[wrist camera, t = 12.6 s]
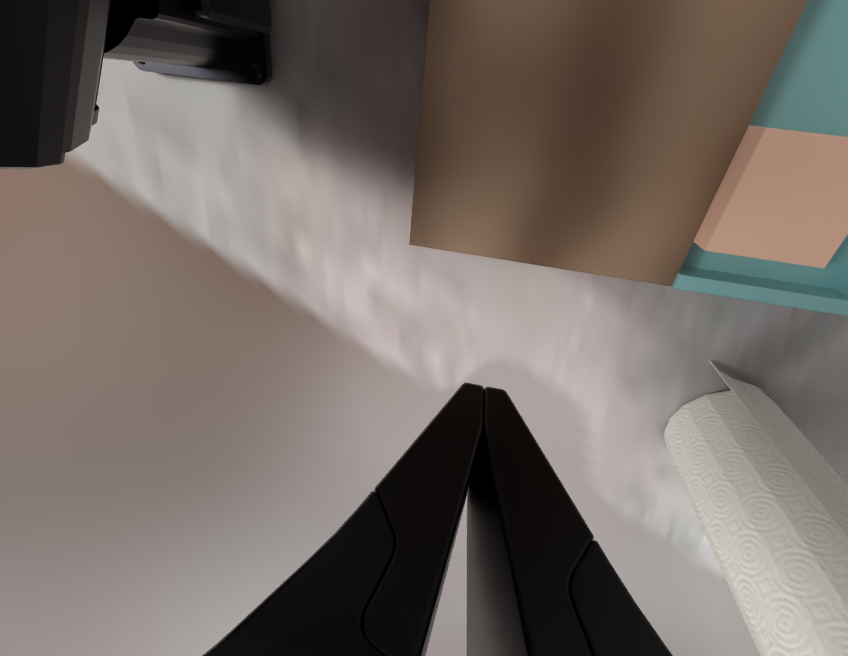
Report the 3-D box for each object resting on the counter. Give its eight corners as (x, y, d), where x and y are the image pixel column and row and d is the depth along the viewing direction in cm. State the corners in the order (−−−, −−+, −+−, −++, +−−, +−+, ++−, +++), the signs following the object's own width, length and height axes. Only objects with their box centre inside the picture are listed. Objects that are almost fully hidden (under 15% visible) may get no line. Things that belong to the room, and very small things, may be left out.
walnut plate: (421, 225, 20) (409, 244, 17) (475, -321, 11) (466, -442, 9) (648, 260, 19) (671, 286, 16) (894, -317, 10) (1024, -454, 8)
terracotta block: (683, 234, 16) (704, 250, 14) (733, 123, 14) (766, 127, 12) (789, 249, 15) (824, 268, 14) (858, 138, 13) (909, 143, 12)
